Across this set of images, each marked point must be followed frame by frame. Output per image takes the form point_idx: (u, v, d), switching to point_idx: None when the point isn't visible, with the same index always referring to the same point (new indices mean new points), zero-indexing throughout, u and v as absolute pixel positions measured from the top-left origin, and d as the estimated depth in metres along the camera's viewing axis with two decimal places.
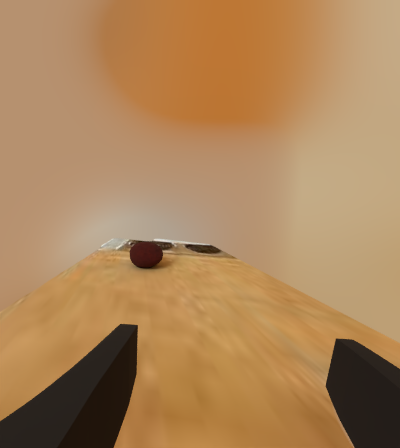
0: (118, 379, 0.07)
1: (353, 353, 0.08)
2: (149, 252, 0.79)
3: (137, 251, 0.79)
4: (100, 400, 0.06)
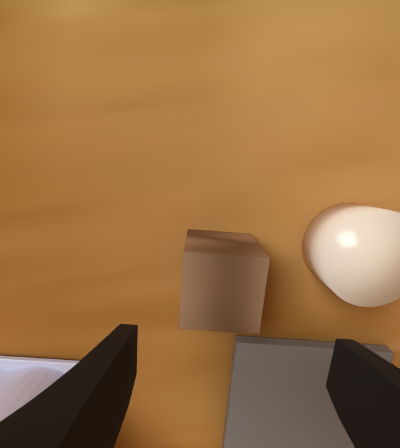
0: (118, 379, 0.07)
1: (353, 353, 0.08)
2: None
3: None
4: (100, 400, 0.06)
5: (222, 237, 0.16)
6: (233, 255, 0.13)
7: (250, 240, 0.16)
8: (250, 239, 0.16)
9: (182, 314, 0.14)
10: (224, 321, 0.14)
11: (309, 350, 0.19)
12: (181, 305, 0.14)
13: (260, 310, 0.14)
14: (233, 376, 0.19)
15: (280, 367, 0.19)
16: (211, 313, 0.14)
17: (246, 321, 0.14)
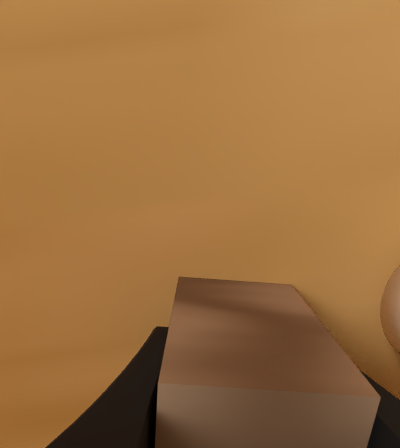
0: None
1: None
2: None
3: None
4: (154, 403, 0.06)
5: (244, 303, 0.08)
6: (285, 389, 0.05)
7: (300, 309, 0.08)
8: (298, 306, 0.08)
9: None
10: None
11: None
12: None
13: None
14: None
15: None
16: None
17: None
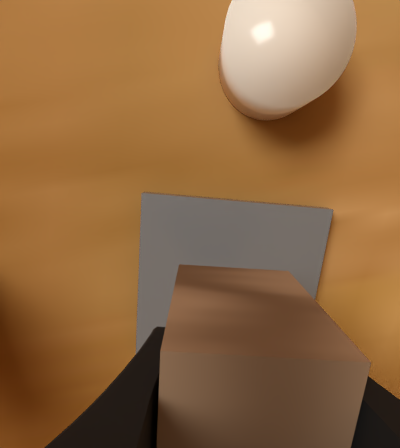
0: None
1: None
2: None
3: None
4: (153, 403, 0.06)
5: (242, 286, 0.08)
6: (280, 356, 0.05)
7: (296, 291, 0.08)
8: (295, 288, 0.09)
9: None
10: None
11: (230, 205, 0.15)
12: None
13: None
14: (141, 240, 0.16)
15: (197, 228, 0.16)
16: None
17: None
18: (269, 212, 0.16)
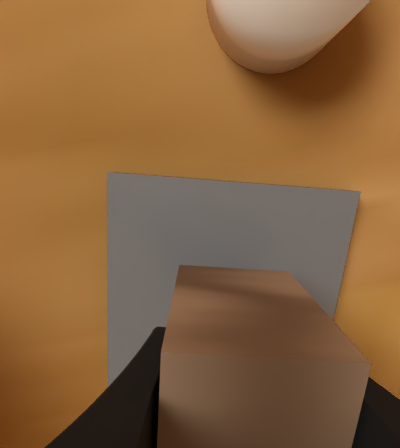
0: None
1: None
2: None
3: None
4: (154, 403, 0.06)
5: (243, 287, 0.08)
6: (281, 357, 0.05)
7: (296, 292, 0.08)
8: (295, 289, 0.09)
9: None
10: None
11: (225, 188, 0.12)
12: None
13: None
14: (108, 235, 0.12)
15: (181, 218, 0.12)
16: None
17: None
18: (276, 196, 0.12)
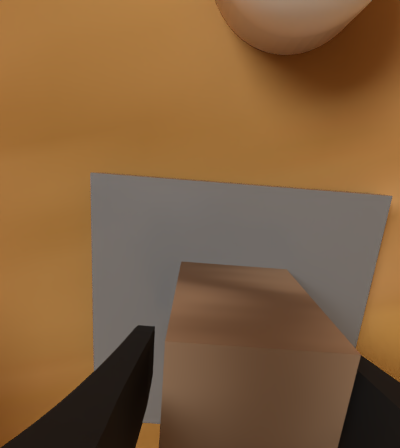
0: (140, 380, 0.07)
1: None
2: None
3: None
4: (126, 402, 0.06)
5: (242, 283, 0.09)
6: (277, 348, 0.06)
7: (293, 289, 0.09)
8: (292, 286, 0.09)
9: None
10: None
11: (231, 191, 0.10)
12: (161, 447, 0.06)
13: None
14: (93, 246, 0.10)
15: (179, 227, 0.10)
16: None
17: None
18: (291, 201, 0.10)
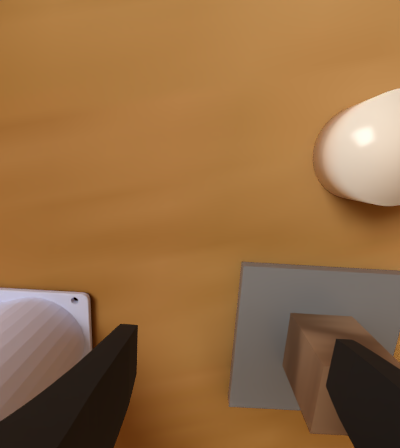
0: (118, 379, 0.07)
1: (353, 353, 0.08)
2: None
3: None
4: (100, 400, 0.06)
5: (334, 329, 0.16)
6: None
7: (362, 332, 0.16)
8: (361, 330, 0.17)
9: (315, 420, 0.14)
10: None
11: (322, 274, 0.17)
12: (315, 412, 0.14)
13: None
14: (240, 305, 0.18)
15: (291, 294, 0.18)
16: None
17: None
18: (356, 279, 0.17)
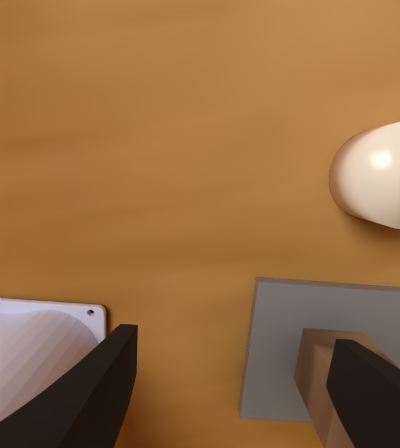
0: (118, 379, 0.07)
1: (353, 353, 0.08)
2: None
3: None
4: (100, 400, 0.06)
5: None
6: None
7: (374, 349, 0.17)
8: (373, 346, 0.17)
9: (330, 437, 0.14)
10: None
11: (335, 291, 0.18)
12: (330, 430, 0.14)
13: None
14: (254, 320, 0.18)
15: (304, 310, 0.18)
16: None
17: None
18: (368, 296, 0.18)
